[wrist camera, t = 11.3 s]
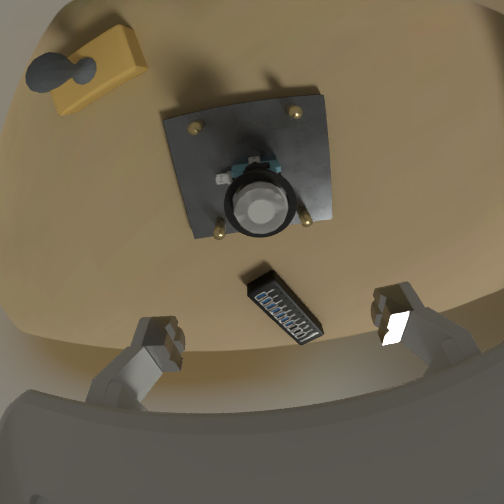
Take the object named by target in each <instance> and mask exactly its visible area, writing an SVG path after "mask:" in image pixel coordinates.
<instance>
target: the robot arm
mask: <svg viewBox="0 0 504 504" xmlns="http://www.w3.org/2000/svg"><path fill="white" fill-rule="evenodd" d="M373 297H374V299H375V300H374V301H373V302H372V304H371V317H372V321H373V323H374V325H375V326H377V327H378V328H379V329H378V335H379V338H380V340H381V343H382V345H386V344H390V343H394V342H399V341H401V343H402V344H403V345H405V346H406V347H407V348H408V349H409V350H411V351H412V352H413V353H414V354H415V355H417V356H418V357H419V358H420V359H421V360H422V361H424V362H425V363H426V364H427V365H428V366H429V367H428V368H427V370H426V372H425V373H424V375H423V377H421V378H418V379H415V380H412V381H409V382H406V383H402V384H400V385H396V386H393V387H389V388H386V389H382V390H379V391H375V392H371V393H367V394H363V395H359V396H354V397H350V398H345V399H340V400H336V401H331V402H325V403H319V404H313V405H308V406H300V407H293V408H285V409H277V410H267V411H255V412H240V413H169V412H153V411H148V410H147V409H146V408H145V407H144V406H143V405H142V404H141V403H140V402H141V401H142V399H143V398H144V397H145V395H146V394H147V393H148V392H149V390H150V389H151V388H152V386H153V385H154V384H155V382H156V381H157V380H158V379H159V377H160V376H161V375H162V373H163V372H175V371H181V367H182V360H183V358H182V356H181V353H182V352H183V351H184V350H185V336H184V333H183V330H182V329H181V328H180V327H178V326H177V325H178V321H177V319H176V317H175V316H159V317H142V318H141V319H140V320H139V323H138V325H137V328H136V331H135V334H134V337H133V340H132V343H131V346H130V347H127V348H125V349H124V350H123V351H122V352H121V353H120V354H119V355H118V356H117V357H116V358H115V359H114V360H113V361H112V362H111V363H110V364H108V365H107V366H106V367H105V368H104V369H103V370H102V371H101V372H100V373H99V374H98V375H97V376H96V377H95V378H94V379H93V380H92V383H91V386H90V389H89V392H88V395H87V398H86V402H81V401H76V400H71V399H67V398H62V397H58V396H54V395H50V394H47V393H43V392H39V391H36V390H32V389H31V390H27V391H26V392H24V393H23V394H21V395H20V396H19V397H18V398H17V399H15V400H14V401H13V402H12V403H11V404H10V405H9V406H8V407H7V409H6V410H5V412H4V414H3V416H2V418H1V420H0V504H504V341H503V342H501V343H499V344H497V345H495V346H493V347H491V348H489V349H487V350H485V351H483V352H481V351H480V349H479V348H478V346H477V344H476V342H475V340H474V339H473V337H472V335H471V334H470V332H469V331H468V330H467V329H465V328H463V327H462V326H460V325H458V324H456V323H455V322H453V321H451V320H450V319H448V318H446V317H444V316H443V315H441V314H439V313H438V312H436V311H434V310H432V309H431V308H429V307H424V305H423V304H422V302H421V300H420V299H419V297H418V295H417V294H416V292H415V291H414V289H413V288H412V286H411V285H410V283H409V282H402V283H398V284H393V285H389V286H384V287H379V288H375V290H374V293H373Z"/></svg>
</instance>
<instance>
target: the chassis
mask: <svg viewBox="0 0 504 504" xmlns="http://www.w3.org/2000/svg"><path fill="white" fill-rule="evenodd" d="M163 123H164V127H165V131H166V136H167V140H168V144H169V148H170V152H171V156H172V160H173V163H174V167H175V171H176V175H177V179H178V182H179V186H180V190H181V193H182V197H183V200H184V204H185V207H186V211H187V214H188V218H189V221H190V225H191V228H192V231H193V235H194V238H195V239H198V238H204V237H211V236H213V237H214V238H215V239H217V240H221V239H223V238H224V236H225V234H230V233H236V232H239V231H237V230H236V229H235V228H234V227H233V226H232V225H231V224H230V223H229V221H228V219H227V218H226V215H225V211H224V198H225V194H226V191H227V189H228V187H229V186H230V184H228V183H225V184H219V185H217V183H216V177H217V176H216V175H217V174H222V173H227V171H231V169H232V166H234V165H240V164H247V163H249V161H248V158H249V157H256V156H259V158H260V162H263V161H271V160H278V161H279V164H280V166H281V175H282V176H283V177H284V178H285V179H286V180H287V181H288V182H289V183H290V184H291V186H292V187H293V189H294V192H295V194H296V198H297V209H296V213H295V216H294V218H293V220H292V221H291V223H290V224H289V225H291V224H298V223H301V224H302V225H303V226H304V227H309V226H311V225H312V223H313V221H320V220H327V219H332V194H331V172H330V156H329V142H328V130H327V119H326V110H325V101H324V95H304V96H292V97H282V98H273V99H265V100H257V101H250V102H244V103H238V104H232V105H226V106H221V107H216V108H211V109H206V110H201V111H197V112H193V113H188V114H184V115H180V116H176V117H173V118H169V119H165V120H163ZM252 159H255V158H252ZM220 179H222V178H220ZM220 182H223V181H220ZM280 188H281V190H282V191H283V193H284V194H285V196H286V192H285V190H284V189H283V188H282V187H280ZM236 196H237V193H235V194H234V197H233V203H234V200H235V198H236Z"/></svg>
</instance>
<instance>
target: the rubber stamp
mask: <svg viewBox="0 0 504 504" xmlns="http://www.w3.org/2000/svg"><path fill="white" fill-rule="evenodd" d="M147 69H148V67H147V64H146V61H145V59H144V56H143V53H142V51H141V48H140V45H139V42H138V40H137V37H136V34H135V32H134V30H132V29H130V28H128V27H125V26H123V25H119V24H118V25H115V26H114V27H112V28H110V29H109V30H107V31H105V32H104V33H102V34H100V35H99V36H97V37H96V38H94V39H93V40H91V41H90V42H88V43H87V44H85V45H84V46H82V47H81V48H80V49H78V50H77V51H75V52H74V53H73V54H71V55H70V56H69V57H66V56H64V55H62V54H59V53H52V52H48V53H45V54H43V55H41V56H39V57H37V58H36V59H34V60H33V61H32V63H31V64H30V66H29V67H28V69H27V72H26V84H27V85H28V87H29V88H30V90H32V91H35V92H39V93H45V92H49V91H50V92H51V95H52V98H53V101H54V104H55V106H56V109H57V112H58V114H59V115H61V116H64V115H68V114H72V113H75V112H78V111H79V110H81V109H82V108H84V107H85V106H87V105H88V104H90V103H91V102H93V101H94V100H96V99H98V98H99V97H101V96H102V95H104V94H106V93H107V92H109V91H111V90H112V89H114V88H116V87H118V86H119V85H121V84H123V83H125V82H126V81H128V80H130V79H132V78H134V77H136V76H138V75H140V74H142V73H144V72H145V71H146V70H147Z"/></svg>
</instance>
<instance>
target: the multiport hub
mask: <svg viewBox="0 0 504 504" xmlns="http://www.w3.org/2000/svg"><path fill="white" fill-rule="evenodd" d="M247 296H248V297H249V298H250V299H251V300H252V301H253V302H254V303H255V304H257V305H258V306H259V307H260V308H261V309H262V310H263V311H264V312H265V313H266V314H267V315H268V316H269V317H270V318H271V319H272V320H273V321H275V322H276V323H277V324H278V325H279V326H280V327H281V328H282V329H283V330H284V331H285V332H286V333H287V334H289V335H290V336H291V337H292V338H293V339H294V340H295V341H296V342H297V343H298V344H299V345H303V344H306V343H308V342H310V341H312V340H314V339H316V338H318V337H320V336H322V335H323V334H324V331H323V328H322V324H321V323H320V322H319V321H318V320H317V319H316V317H315V316H314V315H313V314H312V313H311V312H310V311H309V309H308V308H307V307H306V306H305V305H304V304H303V303H302V301H301V300H300V299H299V298H298V297H297V296H296V295H295V294H294V292H293V291H292V290H291V289H290V288H289V287H288V286H287V284H286V283H285V282H284V281H283V280H282V279H281V278H280V276H279V275H278V274H277V273H276V272H275V271H273V270H271V271H269V272H267V273H266V274H264V275H262V276H260V277H259V278H257V279H255V280H254V281H252V282H250V283H249V284H247Z"/></svg>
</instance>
